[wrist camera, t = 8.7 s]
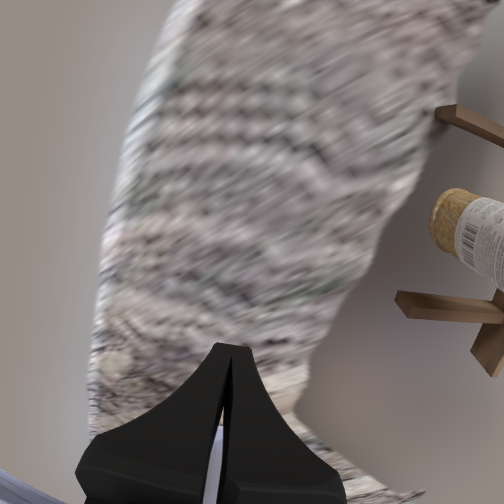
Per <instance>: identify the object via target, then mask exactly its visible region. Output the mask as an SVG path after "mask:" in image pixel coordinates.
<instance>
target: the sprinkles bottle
mask: <svg viewBox="0 0 504 504" xmlns="http://www.w3.org/2000/svg"><path fill="white" fill-rule="evenodd" d="M429 227H430V233H431V237H432V239H433V241H434V242H435V244H436V245H437V246H438V247H439V248H440V249H441V250H443V251H446V252H448V253H451V254H453V255H454V256H455V257H457V258H459V259H460V260H461V262H462V263H464V264H465V265H467V266H468V267H469V268H471V269H472V270H474V271H475V272H477V273H478V274H480V275H481V276H482V277H483V278H485V279H486V280H488V281H489V282H490V283H492V284H493V285H494V286H496V287H497V288H499V289H500V290H501V291H503V292H504V203H501V202H498V201H495V200H492V199H489V198H483V197H480V196H478V195H474V194H471V193H469V192H468V191H466V190H464V189H459V188H455V189H450V190H448V191H445V192H444V193H443V194H442V195H440V197H439V198H438V199H437V201H436V202H435V204H434V206H433V208H432V210H431V214H430V225H429Z"/></svg>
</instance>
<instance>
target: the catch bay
mask: <svg viewBox="0 0 504 504" xmlns="http://www.w3.org/2000/svg"><path fill="white" fill-rule="evenodd" d="M436 119H439V120H441V121H444V122H446V123H449V124H451V125H454V126H456V127H459V128H461V129H464V130H466V131H468V132H471V133H473V134H475V135H477V136H480V137H482V138H484V139H486V140H488V141H490V142H493V143H495V144H497V145H499V146H501V147H503V148H504V127H503V126H501V125H499V124H497V123H495V122H493V121H491V120H490V119H488V118H486V117H484V116H481V115H479V114H477V113H475V112H473V111H471V110H469V109H467V108H464V107H462V106H460V105H458V104H454V105H448V106H441V107H437V111H436ZM395 302H396V303H397V305H398V306H399V307H400V309H401V310H402V311H403V313H404V314H405V315H406V317H407V318H414V319H427V320H442V321H456V322H474V323H475V322H476V323H483V325H482V327H481V329H480V332H479V333H478V336H477V338H476V340H475V342H474V344H473V346H472V348H471V350H470V352H471V353H472V354H473V355H474V356H475V358H476V359H477V360H478V362H479V363H480V364H481V365H482V366H483V368H484V369H485V370H486V372H487V373H488V374H489V375H490V377H497V376H498V374H499V372H500V371H501V369H502V367H503V365H504V292H503V291H501V290H500V289H499V288H497V290H496V293H495V295H494V298H493V301H486V300H477V299H467V298H458V297H449V296H441V295H433V294H423V293H416V292H407V291H399V290H398V291H397V294H396V297H395Z"/></svg>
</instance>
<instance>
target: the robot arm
mask: <svg viewBox="0 0 504 504" xmlns="http://www.w3.org/2000/svg"><path fill="white" fill-rule="evenodd" d="M223 407H224V413H223V426H220V425H219V422H220V418H221V415H222V411H223ZM75 475H76V478H77V480H78V482H79V484H80V485H81V487H82V489H83V491H84V493H85V494H86V496H87V498H86V500H85V503H84V504H347V499H346V493H345V489H344V486H343V483H342V481H341V478H340V475H339V473H338V472H337V471H336V470H335V469H333V468H332V467H331V466H329V465H328V464H327V463H325V462H324V461H323V460H321V459H320V458H319V457H318V456H317V455H315V454H314V453H313V452H312V451H311V450H310V449H309V448H308V447H307V446H306V445H305V444H304V443H303V442H302V441H301V440H300V439H299V437H298V436H297V435H296V434H295V433H294V432H293V431H292V430H291V428H290V427H289V426H288V424H287V423H286V422H285V420H284V419H283V418H282V416H281V415H280V413H279V412H278V410H277V409H276V407H275V405H274V404H273V402H272V400H271V398H270V397H269V395H268V393H267V391H266V389H265V387H264V385H263V382H262V380H261V378H260V375H259V373H258V370H257V367H256V365H255V361H254V358H253V354H252V350H251V349H250V347H243V346H237V345H231V344H224V343H218V342H217V343H215V344H214V345H213V347H212V349H211V351H210V352H209V354H208V355H207V357H206V358H205V360H204V361H203V362H202V363H201V365H200V366H199V367H198V368H197V370H196V371H195V372H194V373H193V374H192V375H191V376H190V377H189V378H188V379H187V380H186V381H185V382H184V383H183V384H182V385H181V386H180V387H179V388H178V389H177V390H176V391H175V392H174V393H173V394H171V395H170V396H169V397H168V398H166V399H165V400H164V401H163V402H161V403H160V404H158V405H157V406H155V407H154V408H153V409H151V410H149V411H148V412H146V413H145V414H143V415H141V416H139V417H137V418H136V419H134V420H132V421H130V422H128V423H126V424H124V425H122V426H120V427H117V428H115V429H112V430H109V431H107V432H104V433H102V434H99V435H97V436H96V437H95V438H94V439H93V441H92V442H91V443H90V445H89V446H88V447H87V449H86V450H85V452H84V454H83V455H82V457H81V460H80V462H79V464H78V466H77V468H76V471H75ZM0 504H66V503H64V502H62V501H60V500H58V499H56V498H53V497H51V496H49V495H47V494H45V493H43V492H41V491H39V490H37V489H35V488H34V487H32V486H30V485H28V484H26V483H24V482H23V481H21V480H19V479H18V478H16V477H14V476H12V475H11V474H9V473H8V472H6V471H4V470H3V469H1V468H0Z"/></svg>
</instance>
